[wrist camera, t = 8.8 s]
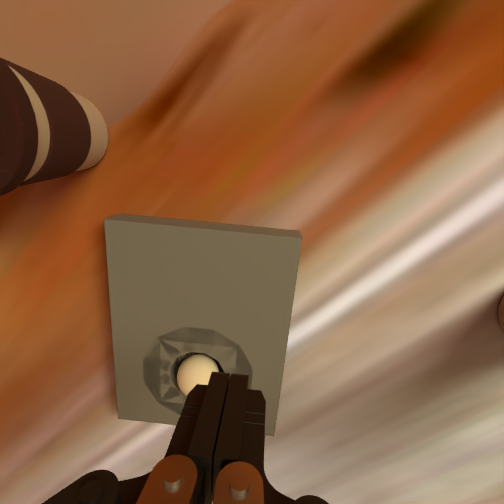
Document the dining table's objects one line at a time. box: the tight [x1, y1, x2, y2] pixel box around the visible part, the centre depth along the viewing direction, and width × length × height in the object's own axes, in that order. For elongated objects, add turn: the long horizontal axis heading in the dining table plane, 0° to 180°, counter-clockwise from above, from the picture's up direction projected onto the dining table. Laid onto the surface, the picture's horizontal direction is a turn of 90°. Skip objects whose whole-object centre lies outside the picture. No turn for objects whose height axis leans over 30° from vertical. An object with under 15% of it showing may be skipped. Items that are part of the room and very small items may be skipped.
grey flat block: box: [104, 214, 302, 436], centre depth 36 cm, size 20×26×3 cm
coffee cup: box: [0, 58, 108, 196], centre depth 24 cm, size 10×10×15 cm
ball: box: [177, 354, 219, 396], centre depth 36 cm, size 5×5×5 cm
